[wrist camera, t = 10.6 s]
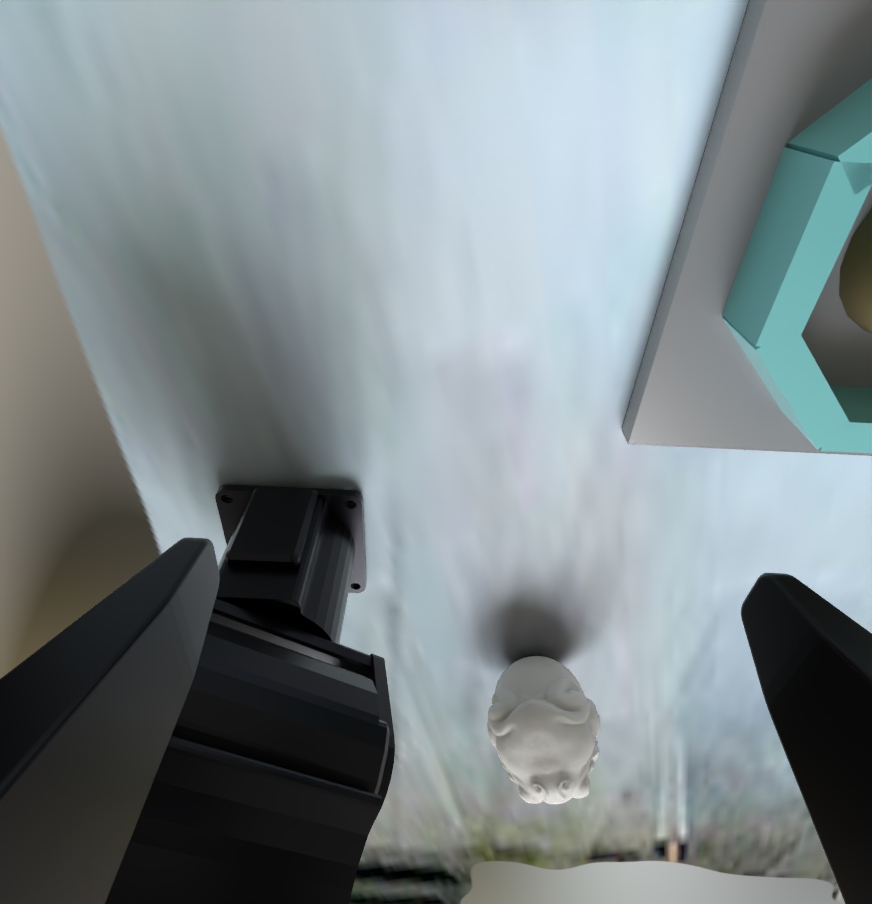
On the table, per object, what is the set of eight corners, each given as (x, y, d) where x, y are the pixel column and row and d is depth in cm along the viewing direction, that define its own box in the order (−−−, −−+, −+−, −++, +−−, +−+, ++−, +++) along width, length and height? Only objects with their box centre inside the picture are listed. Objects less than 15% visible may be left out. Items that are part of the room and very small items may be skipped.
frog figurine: (499, 704, 35) (509, 828, 30) (468, 641, 31) (473, 770, 26) (594, 689, 34) (624, 815, 28) (575, 621, 30) (604, 752, 24)
